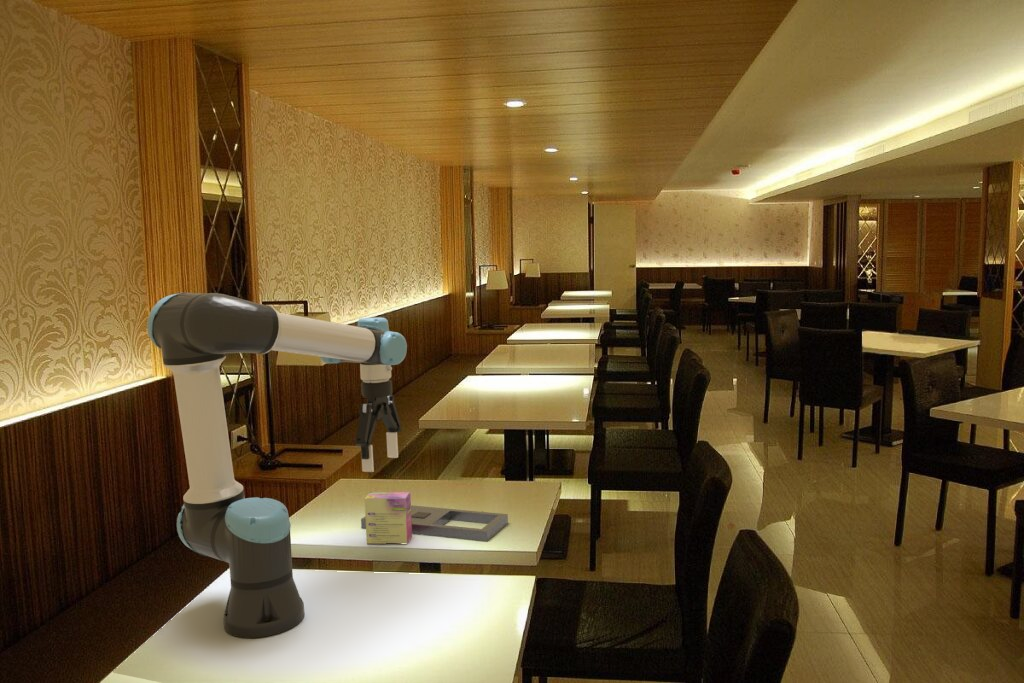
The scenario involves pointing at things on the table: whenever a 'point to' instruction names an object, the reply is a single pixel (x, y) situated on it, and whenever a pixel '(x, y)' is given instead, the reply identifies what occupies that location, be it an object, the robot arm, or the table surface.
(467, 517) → the plate with rectangular opening
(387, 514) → the box
